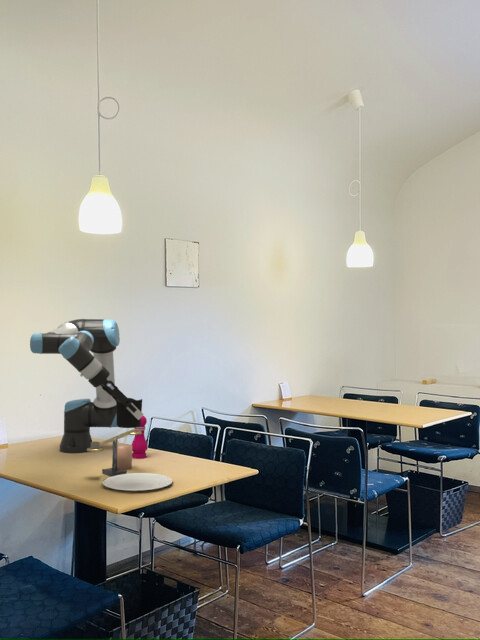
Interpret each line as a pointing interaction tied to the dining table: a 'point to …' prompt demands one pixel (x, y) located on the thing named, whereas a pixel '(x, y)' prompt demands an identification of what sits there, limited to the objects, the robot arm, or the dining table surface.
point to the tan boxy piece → (124, 456)
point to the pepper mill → (140, 441)
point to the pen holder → (127, 415)
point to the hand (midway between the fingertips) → (137, 415)
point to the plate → (137, 482)
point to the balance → (96, 447)
